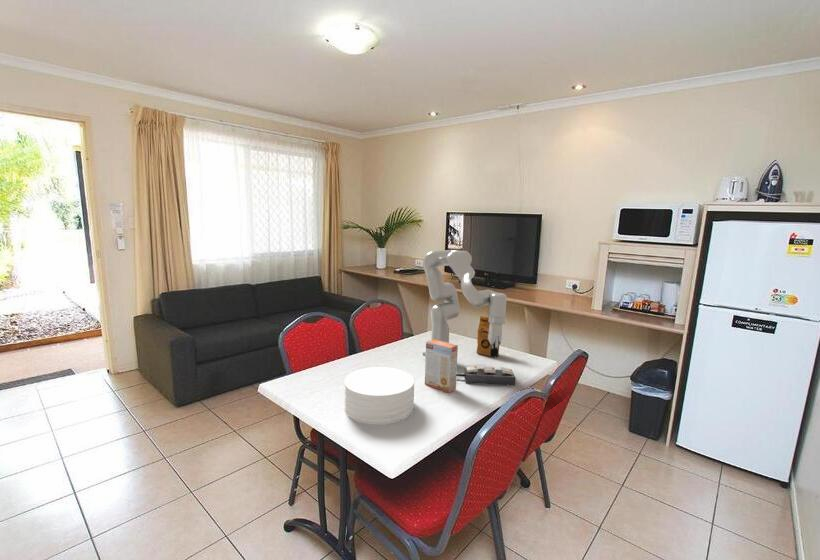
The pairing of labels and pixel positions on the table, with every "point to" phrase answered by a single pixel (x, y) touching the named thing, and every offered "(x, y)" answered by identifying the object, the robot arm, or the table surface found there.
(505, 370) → the rocker right
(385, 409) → the plate stack
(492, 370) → the plate
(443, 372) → the cracker box
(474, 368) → the block
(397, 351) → the table surface
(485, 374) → the power strip
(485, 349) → the coffee package
